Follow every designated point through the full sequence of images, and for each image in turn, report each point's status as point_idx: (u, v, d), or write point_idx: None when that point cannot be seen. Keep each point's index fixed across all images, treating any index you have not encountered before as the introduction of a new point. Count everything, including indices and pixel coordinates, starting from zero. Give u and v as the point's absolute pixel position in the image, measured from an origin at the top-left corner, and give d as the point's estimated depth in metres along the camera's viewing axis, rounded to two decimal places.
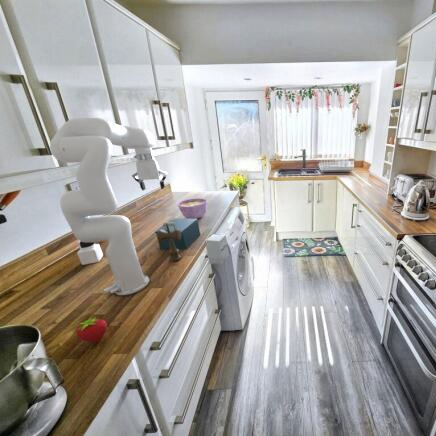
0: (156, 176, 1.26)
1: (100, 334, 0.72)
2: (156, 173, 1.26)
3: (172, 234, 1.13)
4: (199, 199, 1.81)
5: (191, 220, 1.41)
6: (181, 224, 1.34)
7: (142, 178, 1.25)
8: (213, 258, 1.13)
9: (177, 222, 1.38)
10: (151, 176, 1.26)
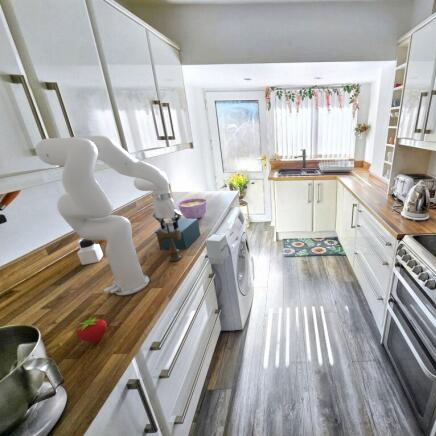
0: (171, 216, 1.22)
1: (100, 334, 0.72)
2: (171, 213, 1.22)
3: (172, 234, 1.13)
4: (199, 199, 1.81)
5: (191, 220, 1.41)
6: (181, 224, 1.34)
7: (158, 217, 1.23)
8: (213, 258, 1.13)
9: None
10: (166, 216, 1.22)
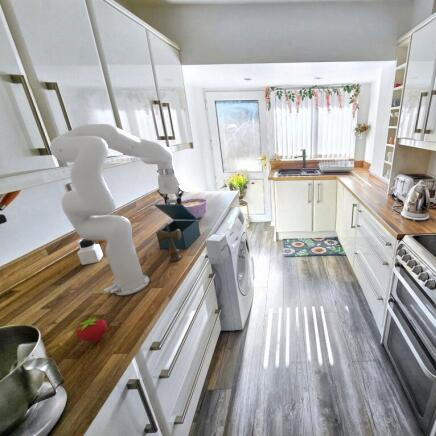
0: (175, 191, 1.26)
1: (100, 334, 0.72)
2: (175, 188, 1.25)
3: (172, 234, 1.13)
4: (199, 199, 1.81)
5: None
6: None
7: (162, 192, 1.26)
8: (213, 258, 1.13)
9: None
10: (170, 191, 1.26)
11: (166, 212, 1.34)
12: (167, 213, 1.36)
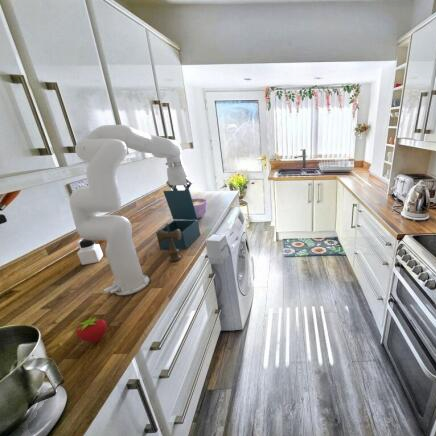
0: (183, 182, 1.34)
1: (100, 334, 0.72)
2: (183, 180, 1.33)
3: (172, 234, 1.13)
4: (199, 199, 1.81)
5: None
6: None
7: (172, 184, 1.35)
8: (213, 258, 1.13)
9: None
10: (179, 182, 1.34)
11: (170, 204, 1.38)
12: (170, 206, 1.39)
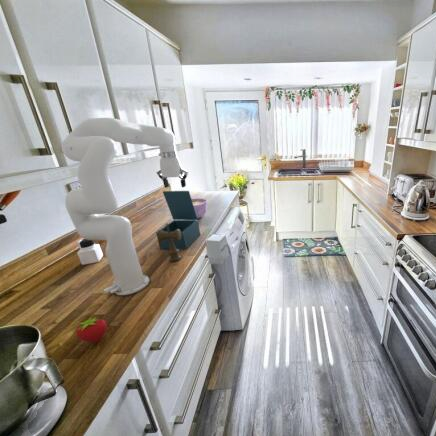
0: (177, 174, 1.27)
1: (100, 334, 0.72)
2: (177, 171, 1.26)
3: (172, 234, 1.13)
4: (199, 199, 1.81)
5: None
6: None
7: (164, 175, 1.27)
8: (213, 258, 1.13)
9: None
10: (172, 174, 1.27)
11: (169, 204, 1.38)
12: (170, 206, 1.39)
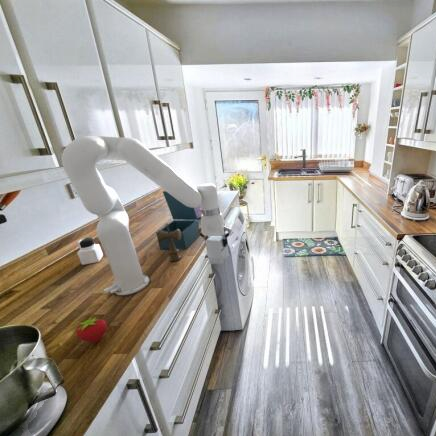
0: (220, 233, 1.09)
1: (100, 334, 0.72)
2: (221, 230, 1.09)
3: (172, 234, 1.13)
4: None
5: None
6: None
7: (206, 234, 1.10)
8: (213, 258, 1.13)
9: None
10: (215, 233, 1.09)
11: (169, 204, 1.38)
12: (170, 206, 1.39)
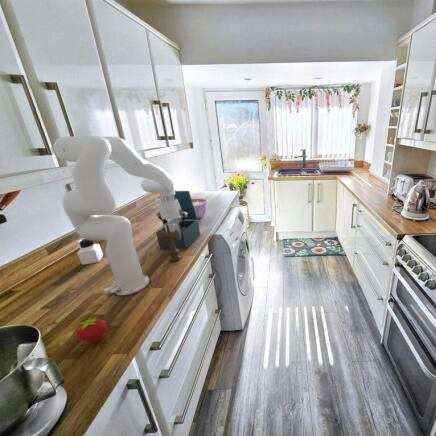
0: (176, 216, 1.27)
1: (100, 334, 0.72)
2: (176, 214, 1.26)
3: (172, 234, 1.13)
4: (199, 199, 1.81)
5: None
6: None
7: (164, 218, 1.28)
8: None
9: None
10: (171, 216, 1.27)
11: None
12: None
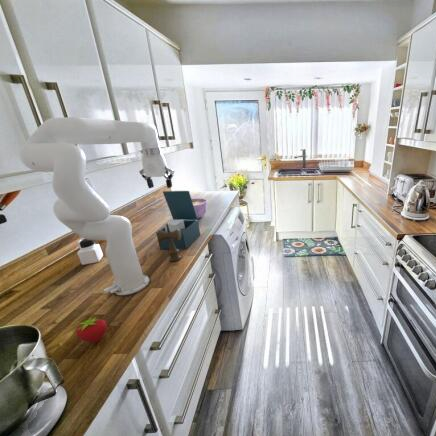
0: (161, 173, 1.13)
1: (100, 334, 0.72)
2: (161, 170, 1.13)
3: (172, 234, 1.13)
4: (199, 199, 1.81)
5: None
6: None
7: (148, 175, 1.14)
8: None
9: None
10: (156, 173, 1.13)
11: (169, 204, 1.38)
12: (170, 206, 1.39)
